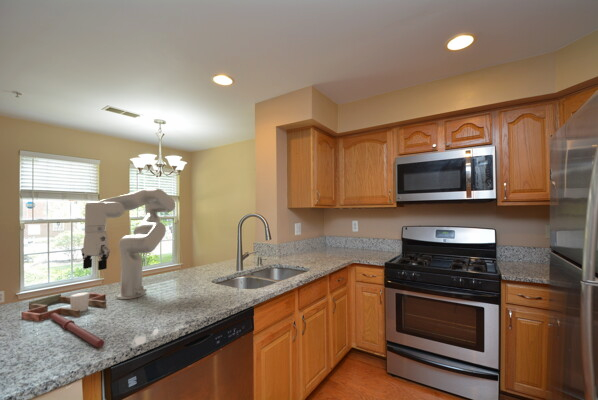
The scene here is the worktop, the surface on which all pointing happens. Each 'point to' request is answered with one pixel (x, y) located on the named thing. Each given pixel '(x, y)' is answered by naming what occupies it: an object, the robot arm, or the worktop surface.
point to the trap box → (40, 308)
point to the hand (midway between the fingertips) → (94, 268)
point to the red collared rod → (77, 330)
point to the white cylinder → (79, 301)
